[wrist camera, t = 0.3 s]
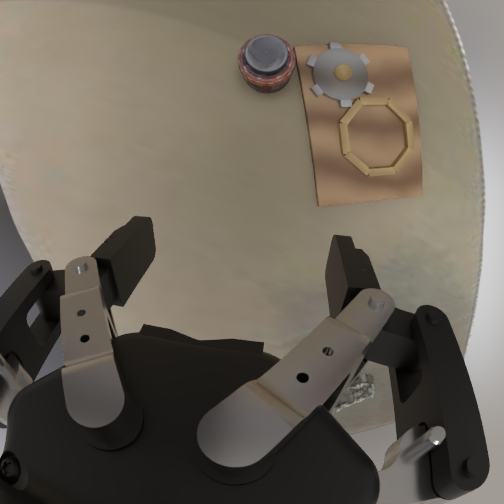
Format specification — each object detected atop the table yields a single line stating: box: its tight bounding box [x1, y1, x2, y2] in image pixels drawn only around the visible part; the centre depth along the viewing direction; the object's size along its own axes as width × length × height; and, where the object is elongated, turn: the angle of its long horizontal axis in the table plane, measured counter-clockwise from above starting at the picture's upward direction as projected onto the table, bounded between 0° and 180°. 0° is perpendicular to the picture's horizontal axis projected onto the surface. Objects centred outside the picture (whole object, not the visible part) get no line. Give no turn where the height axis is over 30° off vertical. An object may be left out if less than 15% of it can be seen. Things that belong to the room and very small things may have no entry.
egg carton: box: [331, 374, 374, 413], centre depth 55 cm, size 11×8×4 cm
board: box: [294, 42, 422, 207], centre depth 32 cm, size 22×16×4 cm
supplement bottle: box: [238, 34, 296, 93], centre depth 27 cm, size 6×6×11 cm
